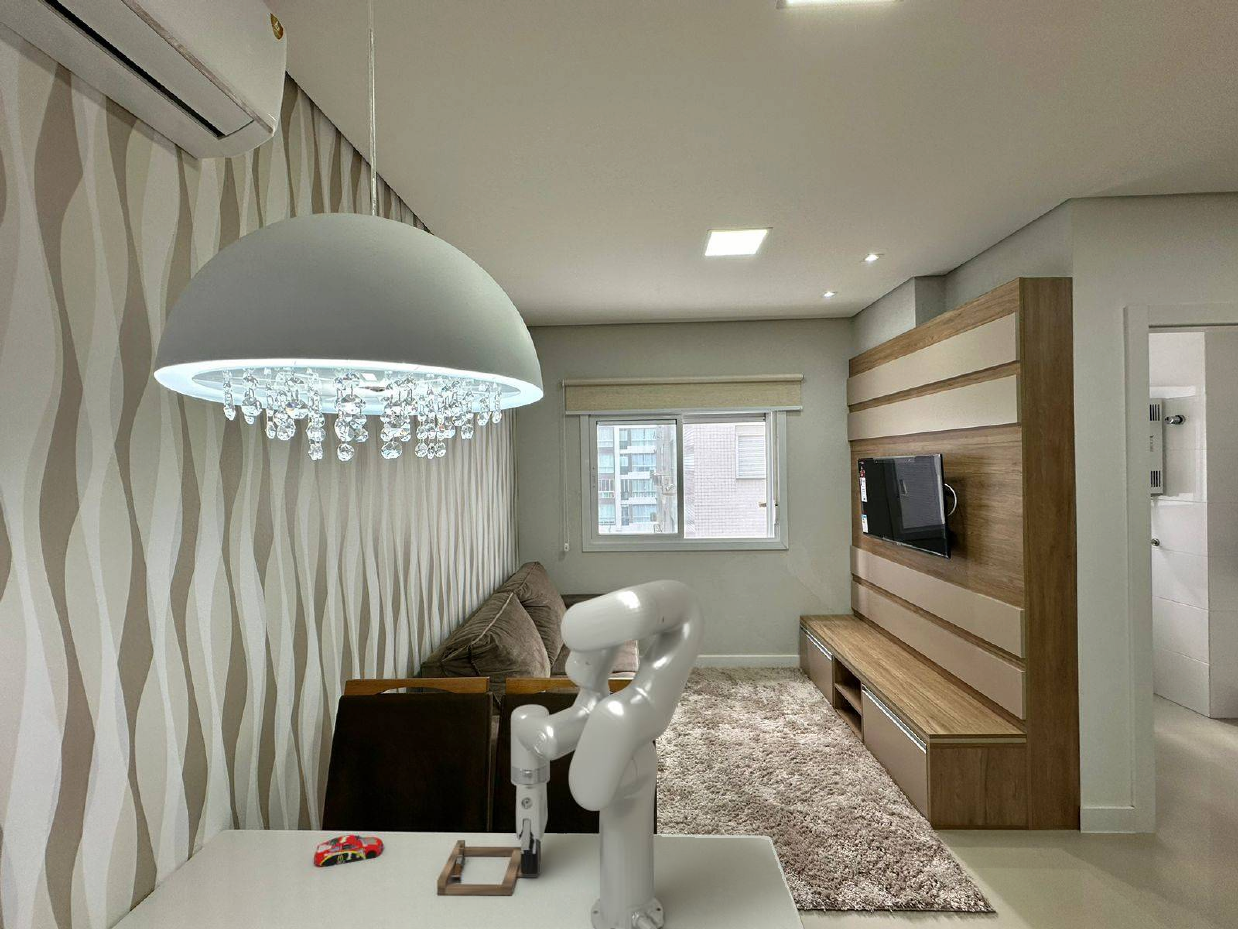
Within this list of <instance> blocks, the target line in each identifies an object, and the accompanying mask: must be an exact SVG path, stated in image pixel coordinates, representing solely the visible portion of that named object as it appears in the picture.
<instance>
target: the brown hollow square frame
mask: <svg viewBox="0 0 1238 929" xmlns="http://www.w3.org/2000/svg"><path fill="white" fill-rule="evenodd" d="M530 835H533V834H530ZM462 841H464V843H465V844H466V839H458V840H457V841H456V843H455V846H454V848H453V849H452V851H451V853H450V855H449V857H448V859H447V861H446V863H445V865H444V867H443V868H442V871H441V873H440V875H439V877H438V879H437V881H436V882H437V883H436V884H437V886H436V887H437V890H436V891H437V892H436V893H437V895H445V896H446V895H447V896H448V895H452V896H455V895H458V896H459V895H463V896H464V895H465V896H469V895H471V896H472V895H473V896H477V895H478V896H481V895H482V896H483V895H484V896H485V895H486V896H487V895H488V896H511V895H512V894H513V891H514V888H515V885H516V881H517V879H518V878H538V876H539V873H540V868H541V864H540V863H541V860H540V841H541V840H538V839H536V851H538V872H537V874H522V873H521V846H465V847H464V853H465V857H466V856H468V857H472V856H473V857H476V856H479V857H481V856H482V857H510V858H509V859H510V860H509V863H508V865H507V868H506V872H505V874H504V877H503V881H502V883H501V884H500V883H499V884H497V883H496V884H495V883H494V884H491V883H490V884H489V883H488V884H487V883H486V884H482V883H481V884H479V883H477V884H476V883H475V884H474V883H470V884H469V883H451V875H454V872H455V868H456V861H457V855H458V854H459V846H460V843H461V842H462ZM530 843H532V845H533V840H530Z"/></svg>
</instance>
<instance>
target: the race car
mask: <svg viewBox="0 0 1238 929" xmlns="http://www.w3.org/2000/svg"><path fill="white" fill-rule="evenodd" d="M384 847H385V845H384V843H383V840H382V839H380V838H378V837H374V836H367V837H365V836H360V835H359V834H358V835H353V834H350V835H342V836H339V837H335V838H332V839H329V840H327V841H326V842H323V843H321V844H319V845H317V847H316V851H315V853H314V855H313V856H314V858H313V859H314V865H315V866H319V867H326V868H327V867H333V866H334V865H335V864H336V865H339V864H340V865H341V864H346V863H351V862H356V861H357V862H358V861H362V860H370V859H375V858H376V857H378V856H379V855H381V853H383V850H384Z"/></svg>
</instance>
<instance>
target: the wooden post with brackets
mask: <svg viewBox="0 0 1238 929" xmlns="http://www.w3.org/2000/svg"><path fill="white" fill-rule="evenodd" d="M464 847H466V842H465V843H464V841H462V842H461V843H460V846H459V854H458V855H457V861H456V868H455V872H454V875H451V884H462V878H461V872H462V870H464V866H465V859H466V856H465V853H464Z"/></svg>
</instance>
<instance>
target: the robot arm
mask: <svg viewBox="0 0 1238 929" xmlns="http://www.w3.org/2000/svg"><path fill="white" fill-rule="evenodd" d="M705 620H706V619H705V614H704V610H703V606H702V603H701V602H700V599H699V598H698V596H697V595H696V593H695V592H694V591H693V590H692V588H691V587H690V586H688V585H687V584H686V583H684V582H681V581H678V580H675V579H660V580H654V581H650V582H646V583H642V584H637V585H632V586H627V587H624V588H621V589H617V590H615V591H611V592H609V593H605V594H602V595H600V596H597V597H594V598H591V599H588V600H585V601H580V602H577V603H574V604H573V605H572V606H570V607H569V608H568V609H567V611H566V612H565V613H564V615H563V617H562V619H561V624H560V636H561V639H562V642H563V643H564V645H565V646H566V648H568V650H570V652H569V655H568V657H567V659H566V661H565V664H564V670H565V674H566V675H567V677H568V679H569V680H570V681H571V682H572V683H574V684H575V685H576V686H578V687H580V690H579V692H578V694H577V697H576V698H575V701H574V703H573V704H572V706H569V707H568V708H566V709H563V710H561V711H558V712H556V713H553V714H550V713H549V710H548V709H547V708H546V707H545V706H543V705H539V704H524V705H520V706H518V707H515V709H513V711H512V712H511V716H510V781H511V784H513V785H514V786H516V793H515V794H516V796H515V799H516V802H515V832H516V834H515V835H516V839H517V840H519V841H520V840H521V843H520V845H521V846H520V847H521V873H522V874H537V872H538V851H536V839H538V840H540V861H541V859H542V858H541V856H542V854H541V853H542V852H541V848H542V847H541V844H542V843H541V840H542V838H543V837H544V834H545V829H546V826H547V823H548V799H547V798H548V796H547V795H548V794H547V783H548V782H549V781H550V779H551V778H550V777H551V775H550V771H551V770H550V769H551V768H550V765H551V764H550V761H554V760H558V759H560V758H562V757H563V756H566V755H568V754H570V753H571V752H573V751H574V753H573V756H572V759H571V762H570V765H569V770H568V785H569V789H570V793H571V795H572V797H573V799H574V800H575V802H576V803H577V804H578V805H579V806H580V807H582V808H583V809H585V810H587V811H591V812H592V811H593V812H594V811H597V812H598V811H599V824H598V825H599V826H598V827H599V829H598V830H599V831H598V832H599V833H598V834H599V837H598V838H599V839H598V840H599V841H598V842H599V844H598V845H599V847H598V848H599V898H598V899H597V900H596V901H595V902H594V903H593V905H592V907H591V912H590V918H591V923H592V925H593V927H594V928H595V929H660V928H662V927H663V925H664V923H665V921H664V908H663V905H662V904H661V902H660V901H658V899H657V898H656V897H655V854H654V853H655V852H654V851H655V848H654V847H655V845H654V843H655V842H654V836H655V834H654V833H655V832H654V828H655V827H654V826H655V822H654V817H655V814H654V812H655V811H654V810H655V794H656V786H657V779H658V772H659V757H658V756H659V755H658V751H657V748H656V746H655V744H654V743H653V741H655V740H656V739H658V738H660V737H661V736H662V735H663V734H665V732H666V731H667V729H668V728H669V726H670V724H671V722H672V718H673V717H674V714H675V711H676V710H677V707H678V705H679V702H680V700H681V697H682V695H683V693H684V690H685V687H686V684H687V682H688V679H689V678H690V674H691V673H692V671H693V668H694V666H695V664H696V662H697V659H698V657H699V654H700V651H701V649H702V646H703V642H704V639H705V633H706V632H705V630H706V621H705ZM654 635H655V636H654ZM653 636H654V638H653V640H652V641H651V643H650V644H649V646H648V647H647V649H646V650H645V651H644V652H643V655H642V657H641V659H640V660H639V664H638V668H637V670H636V672H635V674H634V676H633V678H632V680H631V681H630V683H629V684H628V685H627V686H626V687H624V688H623V689H621V690H619V691H616V692H613V693H611V689H610V686H609V680H610V678H611V675H612V673H613V671H614V669H615V667H616V664H617V662H618V660H619V658H620V656H621V654H622V652H623V649H624V647H625V645H626V644H628V643H631V642H636V641H639V640H642V639H645V638H648V637H653ZM530 834H533V835H530ZM530 840H533V845H532V843H530Z"/></svg>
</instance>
